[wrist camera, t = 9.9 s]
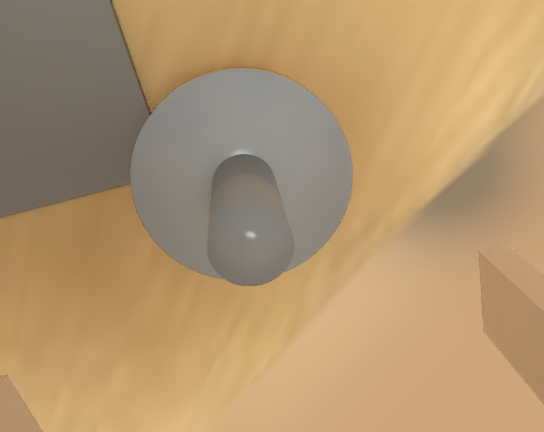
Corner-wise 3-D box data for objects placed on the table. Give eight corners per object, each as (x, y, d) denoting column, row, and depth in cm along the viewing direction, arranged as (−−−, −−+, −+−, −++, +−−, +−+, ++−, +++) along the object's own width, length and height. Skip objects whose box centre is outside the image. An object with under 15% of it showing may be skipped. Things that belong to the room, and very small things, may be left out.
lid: (99, 101, 25) (36, 141, 17) (326, 41, 25) (377, 52, 17) (174, 293, 30) (154, 397, 22) (363, 244, 30) (416, 330, 22)
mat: (-141, 8, 27) (-148, 8, 26) (92, -54, 27) (90, -55, 26) (-23, 221, 32) (-27, 224, 32) (170, 171, 32) (169, 173, 32)
